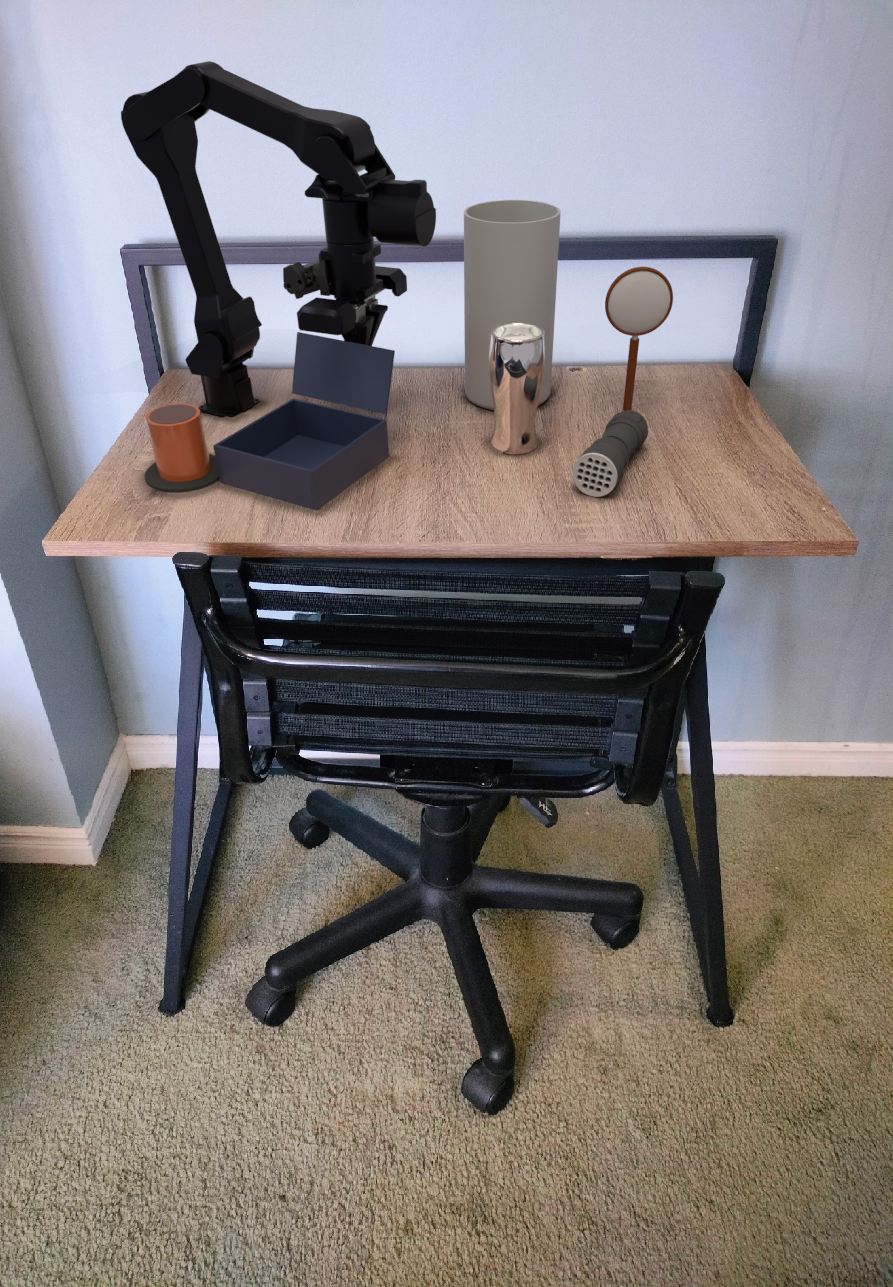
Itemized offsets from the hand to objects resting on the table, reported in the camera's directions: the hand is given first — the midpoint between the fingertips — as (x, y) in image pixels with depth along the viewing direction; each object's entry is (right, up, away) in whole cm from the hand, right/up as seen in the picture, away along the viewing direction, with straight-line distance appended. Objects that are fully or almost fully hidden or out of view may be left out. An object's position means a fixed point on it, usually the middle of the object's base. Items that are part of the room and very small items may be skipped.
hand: (360, 365), depth 117 cm
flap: (-2, -2, -3) cm, 4 cm away
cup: (-22, -15, -4) cm, 26 cm away
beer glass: (+20, -10, +2) cm, 23 cm away
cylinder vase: (+20, 0, +14) cm, 25 cm away
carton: (-6, -15, -3) cm, 16 cm away
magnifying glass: (+36, -5, +8) cm, 38 cm away
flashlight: (+32, -15, -5) cm, 36 cm away
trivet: (-22, -15, -4) cm, 27 cm away
